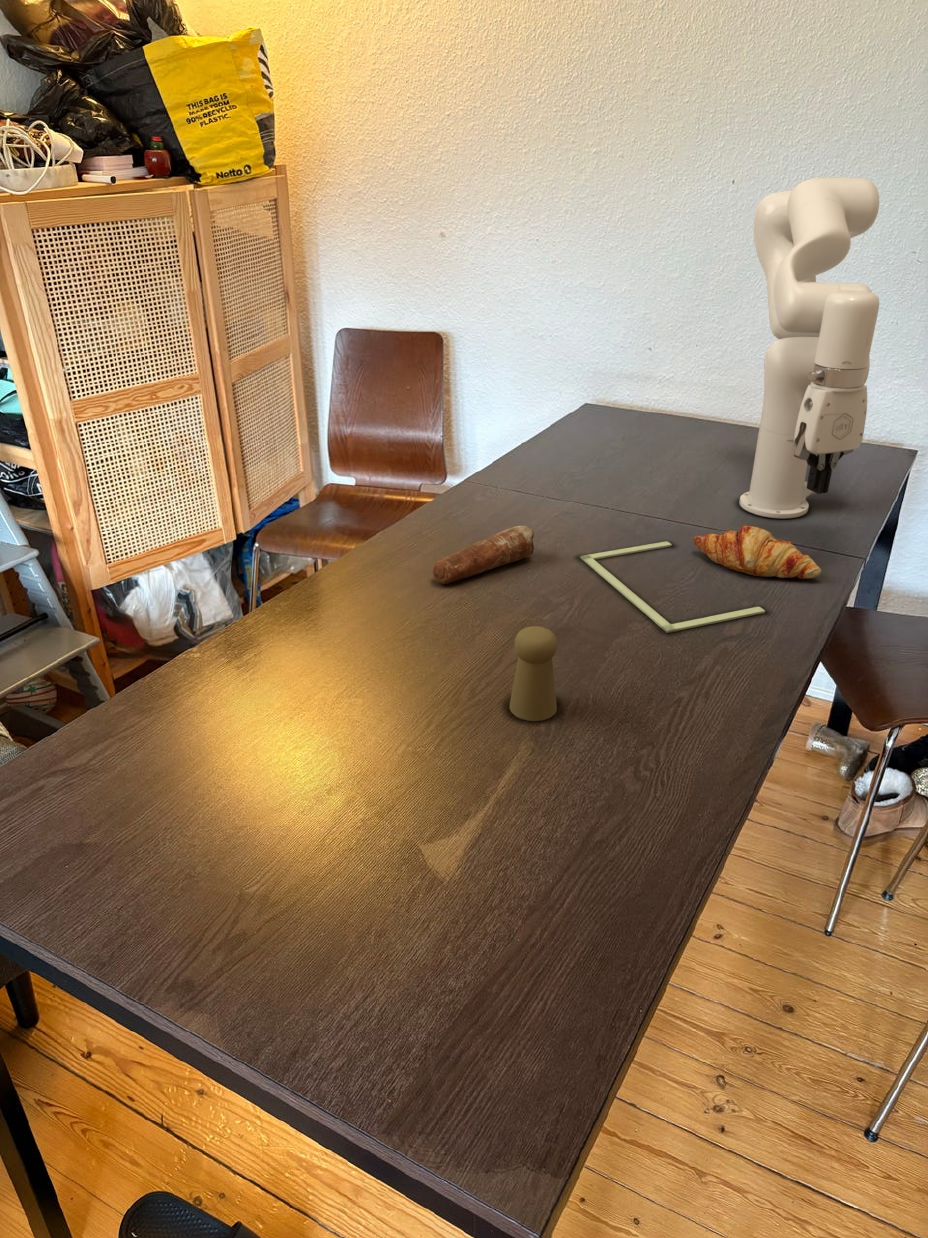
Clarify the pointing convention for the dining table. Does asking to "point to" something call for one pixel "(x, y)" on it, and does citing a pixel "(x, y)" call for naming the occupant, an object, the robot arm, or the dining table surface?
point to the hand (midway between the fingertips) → (816, 490)
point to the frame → (647, 609)
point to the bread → (486, 555)
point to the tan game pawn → (534, 675)
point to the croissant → (757, 554)
